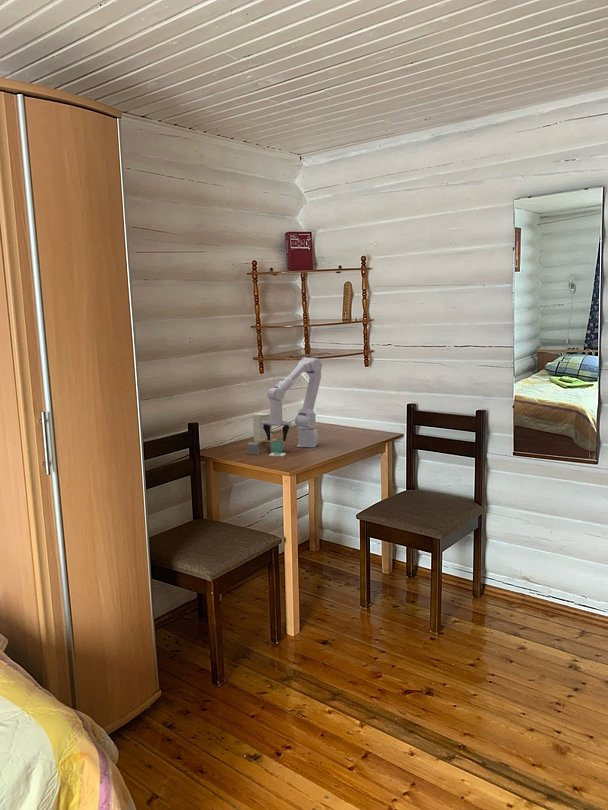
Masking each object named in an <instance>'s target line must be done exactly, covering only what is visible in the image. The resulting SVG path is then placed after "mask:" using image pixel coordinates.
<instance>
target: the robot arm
mask: <svg viewBox="0 0 608 810" xmlns="http://www.w3.org/2000/svg"><path fill="white" fill-rule="evenodd" d="M322 367H323V363H322V362H321V360H320V359H319V358H317V357H306V356H304V357H302V358H301V359H300V360H299V361H298V364H297V365H296V367H294V369H293V370H292V371H291V372H290V374H289V375H288V376H283V377H281V378H280V381H278V383H277V384H275V385H274V387H271V388H269V389H268V391H267V394H266V395H267V398H268V400H269V410H270V411H269V413H270V421H262V422H261V425H262V426H264V427H263V429H264V430H265V432H266V435H267V438H268V441H270V438H271V437H270V428H271V426H272V427H273V426H275V427H276V426H277V427H282V435H283V436H282V440H283V442H286V440H287V439H286V438H287V436H288V433H289V429H290V428H291V427H292V421H285V420H283V400H284V398H285V395H286V393H287V391H289V390H290V389H291V387H292V386H293V383H294V381H295V380H297V378H298V377H300V376H301V375H302V374H303V373H306V374H307V376H308V377H309V378H308V382H307V388H306V391H305V395H304V399H303V404H302V408H301V409H299V410H298V412H297V415H296V416H295V417H294V423H295V424H296V426H297V431H298V432H297V433H298V437H297V438H298V443H297V445H296V447H298V448H316V447H317V446H318V444H319V442H318V436H319V435H318V428H314V427H315V426H316V424H317V423H316V417H317V414H316V412H315V411H314V408H315V404H316V401H317V396H318V392H319V387H320V384H321V383H320V382H321V379H322Z"/></svg>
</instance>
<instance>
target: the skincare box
mask: <svg viewBox="0 0 608 810" xmlns="http://www.w3.org/2000/svg"><path fill="white" fill-rule="evenodd" d="M252 419H253V423H252V424H253V442H257V441H259V440H260V439H262V438H267V435H266V432H265V430H264V429H263V427H264V426H262V425H261V422H262V421H270V412H269V413H268V412H259V413H254V414H253V415H252ZM270 437H271V438H273V426H271V428H270Z"/></svg>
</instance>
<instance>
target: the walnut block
mask: <svg viewBox="0 0 608 810" xmlns="http://www.w3.org/2000/svg"><path fill="white" fill-rule="evenodd" d="M273 440H279V438H273V437H272V438H270V441H268V438H262V439H260V440H259V441H257V442H260V450H271V442H272V441H273Z"/></svg>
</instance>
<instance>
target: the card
mask: <svg viewBox="0 0 608 810" xmlns="http://www.w3.org/2000/svg"><path fill="white" fill-rule="evenodd" d="M286 454H287V453H286V452H281V453H275V452H270V454H269V455H268V456H269V457H270V456H271V457H272V456H273V457H284V456H286Z"/></svg>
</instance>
